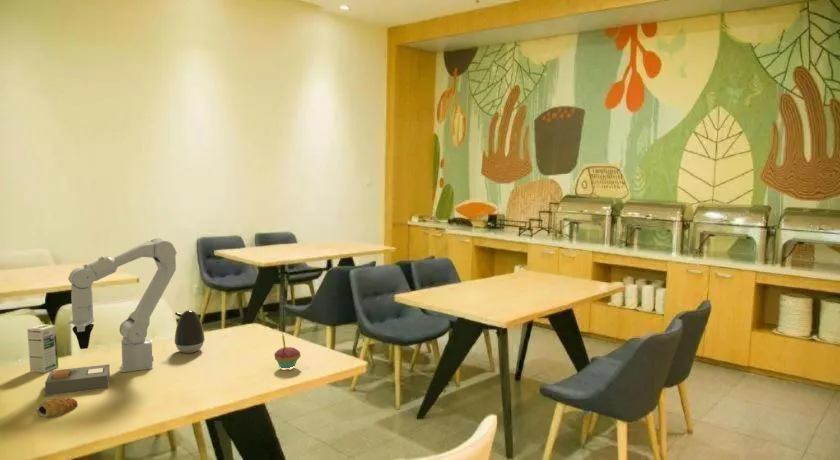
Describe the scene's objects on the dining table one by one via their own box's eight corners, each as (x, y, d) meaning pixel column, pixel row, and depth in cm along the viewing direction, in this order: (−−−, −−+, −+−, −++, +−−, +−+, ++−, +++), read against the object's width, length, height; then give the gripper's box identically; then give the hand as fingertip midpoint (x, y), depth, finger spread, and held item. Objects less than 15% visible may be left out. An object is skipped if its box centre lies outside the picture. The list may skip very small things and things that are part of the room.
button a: (103, 378, 184) (103, 367, 184) (102, 382, 180) (102, 371, 180) (89, 380, 182) (88, 369, 182) (87, 384, 179) (87, 373, 178)
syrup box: (44, 373, 190) (42, 329, 189) (29, 371, 191) (26, 328, 190) (58, 367, 196) (56, 324, 194) (43, 365, 197) (41, 323, 195)
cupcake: (269, 370, 196) (269, 335, 195) (284, 362, 204) (284, 329, 203) (291, 374, 193) (290, 338, 192) (305, 366, 201) (305, 332, 199)
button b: (70, 379, 180) (69, 368, 180) (68, 384, 177) (68, 372, 176) (55, 381, 179) (54, 370, 178) (53, 386, 175) (52, 374, 175)
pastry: (69, 403, 167) (68, 390, 166) (83, 408, 164) (82, 395, 163) (34, 415, 159) (33, 401, 158) (48, 421, 155) (48, 407, 155)
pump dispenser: (183, 346, 221) (182, 306, 219) (209, 347, 219) (209, 307, 218) (168, 354, 211) (167, 313, 209) (195, 356, 209) (194, 314, 208)
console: (109, 376, 188) (109, 364, 187) (107, 388, 178) (107, 375, 178) (51, 383, 181) (50, 370, 181) (45, 396, 171) (45, 382, 171)
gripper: (70, 302, 190) (72, 343, 191) (64, 312, 177) (66, 356, 178) (95, 300, 193) (96, 340, 194) (91, 310, 180) (93, 353, 181)
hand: (84, 348), depth 186 cm, fingers closed
